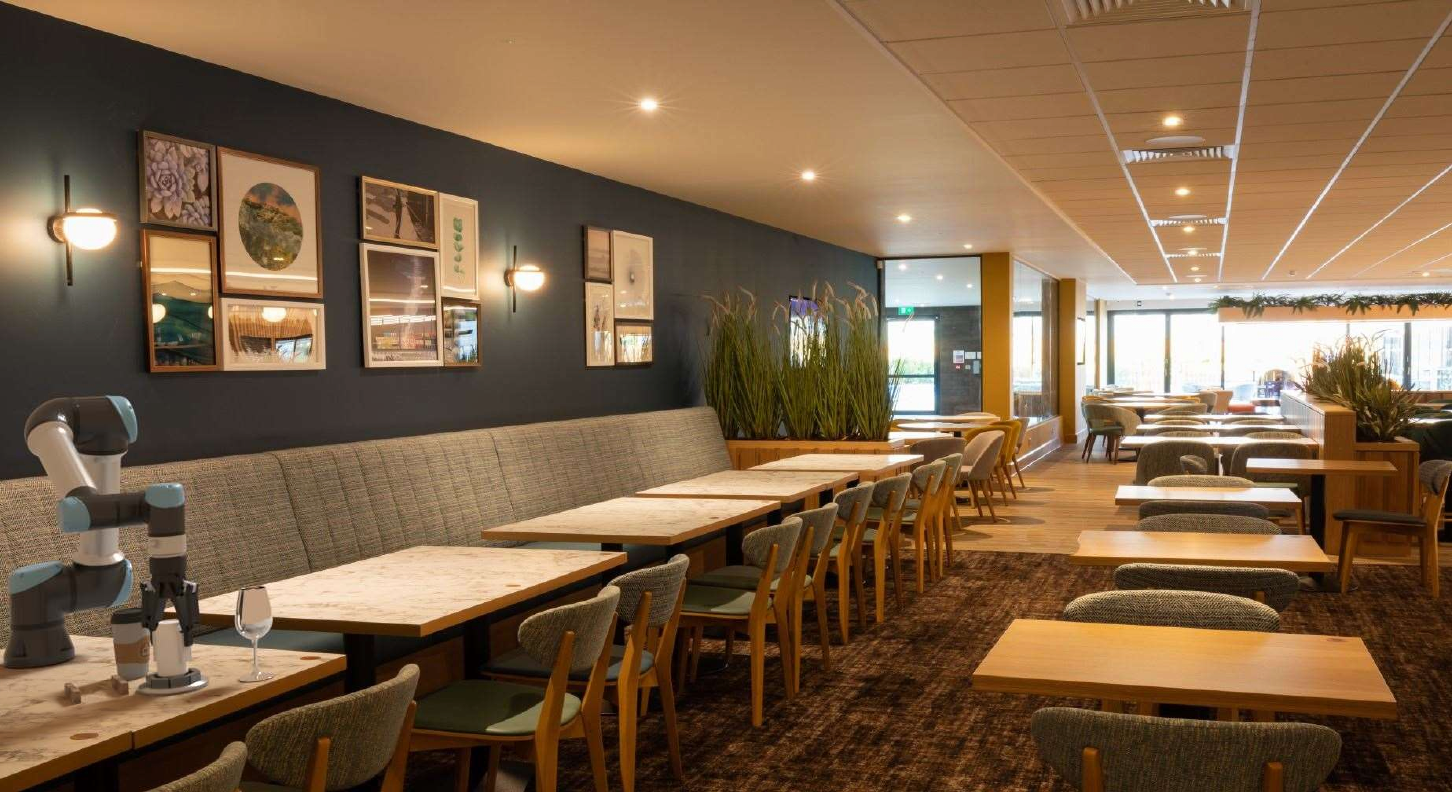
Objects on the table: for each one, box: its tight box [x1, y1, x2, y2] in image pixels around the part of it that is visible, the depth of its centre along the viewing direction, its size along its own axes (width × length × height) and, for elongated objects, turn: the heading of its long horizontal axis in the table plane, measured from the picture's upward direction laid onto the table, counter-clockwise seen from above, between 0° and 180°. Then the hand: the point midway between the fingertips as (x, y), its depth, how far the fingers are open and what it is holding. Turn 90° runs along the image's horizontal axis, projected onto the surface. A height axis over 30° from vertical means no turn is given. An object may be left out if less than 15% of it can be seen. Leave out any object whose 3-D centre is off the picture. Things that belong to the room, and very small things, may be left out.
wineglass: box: [234, 585, 275, 683], centre depth 273 cm, size 8×8×20 cm
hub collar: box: [137, 667, 210, 697], centre depth 267 cm, size 14×14×3 cm
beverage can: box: [155, 618, 189, 678], centre depth 267 cm, size 6×6×12 cm
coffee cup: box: [110, 606, 151, 681], centre depth 278 cm, size 8×8×15 cm
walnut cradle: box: [64, 674, 130, 705], centre depth 263 cm, size 10×10×2 cm
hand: (172, 660), depth 267 cm, fingers closed on beverage can, 6 cm apart
